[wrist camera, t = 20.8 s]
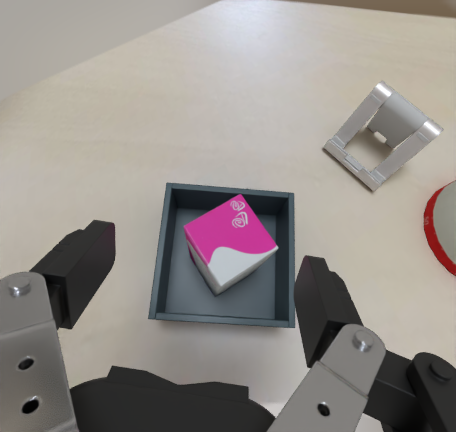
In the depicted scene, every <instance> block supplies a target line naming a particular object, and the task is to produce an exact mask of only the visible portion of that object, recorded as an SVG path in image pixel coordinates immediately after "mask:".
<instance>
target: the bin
mask: <svg viewBox="0 0 456 432" xmlns="http://www.w3.org/2000/svg"><path fill="white" fill-rule="evenodd" d="M239 194H241V195H242V196H243V198H244V199H245V201H246V202H247V203H248V205H249V206H250V208H251V209H252V210H253V212H254V213H255V215H256V216H257V218H258V219H259V220H260V222H261V223H262V225H263V226H264V228H265V229H266V230H267V232H268V233H269V235H270V236H271V238H272V239H273V240H274V242H275V243H276V245H277V246H278V250H277V251H276V252H274V253H273V254H272V255H271V256H270V257H269V258H268V259H267V260H266V261H265V262H264V263H263V264H262V265H261V266H260V267H259V268H258V269H257V270H256V271H254V272H253V273H251V274H250V275H248V276H247V277H245V278H244V279H242V280H241V281H239V282H238V283H236V284H235V285H233V286H232V287H230V288H229V289H227V290H225V291H224V292H222V293H221V294H219V295H218V296H216V297H214V295H213V294H212V292H211V290H210V289H209V287H208V286H207V284H206V283H205V281H204V279H203V278H202V276H201V274H200V273H199V271H198V270H197V268H196V266H195V264H194V263H193V261H192V259H191V257H190V254H189V249H188V245H187V240H186V236H185V232H184V225H186V224H188V223H189V222H191V221H193V220H195V219H197V218H198V217H200V216H202V215H204V214H206V213H207V212H209V211H211V210H213V209H215V208H216V207H218V206H220V205H222V204H224V203H225V202H227V201H229V200H230V199H232V198H234V197H236V196H237V195H239ZM294 285H295V239H294V193H288V192H275V191H263V190H251V189H239V188H227V187H214V186H202V185H190V184H178V183H166V191H165V198H164V206H163V213H162V220H161V228H160V235H159V243H158V250H157V257H156V265H155V272H154V280H153V287H152V294H151V302H150V309H149V317H148V319H156V320H170V321H187V322H203V323H219V324H235V325H251V326H267V327H284V328H295V303H294V297H293V292H294Z"/></svg>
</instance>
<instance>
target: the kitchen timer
mask: <svg viewBox="0 0 456 432" xmlns="http://www.w3.org/2000/svg"><path fill="white" fill-rule="evenodd" d="M424 230H425V233H426V237H427V240H428V243H429V246H430V247H431V249H432V251H433V252H434V254H435V256H436V257H437V259H438V260H439V261H440V262H441V263H442V264H443V265H444V266H445V267H446V268H447V269H448V270H449V272H451V273H452V274H454V275H455V276H456V180H455V181H453V182H451V183H450V184H448V185H446V186H444V187H443V188H441V189H439V190H438V191H436V192H435V193H434V195H433V196H432V197H431V198H430V200H429V201H428V203H427V206H426V209H425V213H424Z"/></svg>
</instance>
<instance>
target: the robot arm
mask: <svg viewBox="0 0 456 432" xmlns="http://www.w3.org/2000/svg"><path fill="white" fill-rule="evenodd" d="M114 261H115V225H114V223H111V222H105V221H99V220H93V221H92V222H91V223H90V224H89V225H88V226H87V227H86V228H85V229H84V230H80V229H79V230H77V231H74V232H72V233H70V234H68V235H66V236H65V237H64V238H63V239H62V240H61V241H60V242H59V244H57V245H56V246H55V247H54V248H53V250H52V251H50V252H49V253H48V254H47V255H46V256H45V257H43V258H42V259H41V260H40V261H39V262H38V263H37V264H36V265H35V266H34V267H33V268H32V269H31V270H30V271H29V272H20V273H15V274H12V275H9V276H7V277H5V278H3V279H1V280H0V432H355V429H356V427H357V425H358V422H359V420H360V418H361V415H362V413H364V414H367V415H369V416H371V417H373V418H375V419H377V420H379V421H380V422H381V425H382V428H383V431H384V432H456V369H455V368H454V367H453V366H452V365H451V364H450V363H448V362H447V361H445V360H444V359H442V358H440V357H438V356H436V355H434V354H431V353H426V352H421V353H418V354H416V355H415V357H414V358H413V360H409V359H407V358H404V357H402V356H400V355H397V354H395V353H392V352H390V351H388V350H386V348H385V345H384V343H383V342H382V340H381V339H380V338H379V337H378V336H377V335H376V334H375V333H374V332H373V331H371V330H370V329H368V328H366V327H364V326H363V323H362V321H361V319H360V317H359V314H358V312H357V310H356V308H355V305H354V303H353V301H352V300H351V297H350V294H349V292H348V290H347V288H346V285H345V283H344V281H343V280H342V279H341V278H340V277H339V276H338V275H337V274H336V273H335V272H331V271H329V269H328V266H327V264H326V261H325V259H324V258H319V257H313V256H307V255H306V256H305V257H304V258H303V261H302V264H301V267H300V270H299V273H298V276H297V279H296V282H295V285H294V292H293V297H294V303H295V308H296V313H297V318H298V323H299V328H300V333H301V338H302V343H303V348H304V353H305V358H306V363H307V367H308V368H311V369H310V370H309V372H308V373H307V375H306V376H305V378H304V379H303V380H302V382H301V383H300V385H299V386H298V388H297V389H296V390H295V392H294V393H293V395H292V396H291V398H290V399H289V400H288V402H287V403H286V405H285V406H284V408H283V409H282V411H281V412H280V413H279V415H278V416H277V418H275V417H274V416H273V415H272V414H271V413H270V412H269V411H268V410H267V409H265V408H264V407H263V406H261V405H260V404H258V403H256V402H255V401H253V400H250V399H249V396H248V387H246V386H240V385H234V384H227V383H221V382H207V383H197V384H187V385H177V384H175V383H172V382H170V381H168V380H165V379H163V378H161V377H159V376H156V375H154V374H152V373H149V372H147V371H143V370H137V369H130V368H124V367H117V366H112V367H111V369H110V372H109V374H108V376H107V377H103V378H98V379H93V380H90V381H87V382H84V383H81V384H79V385H77V386H75V387H73V388H71V389H69V385H68V380H67V375H66V371H65V366H64V361H63V357H62V352H61V347H60V343H59V338H58V333H57V330H58V329H59V327H60V328H66V329H72V328H73V326H74V325H75V323H76V322H77V320H78V319H79V317H80V316H81V314H82V313H83V311H84V310H85V308H86V307H87V305H88V304H89V302H90V300H91V299H92V297H93V296H94V294H95V293H96V291H97V290H98V288H99V287H100V285H101V284H102V282H103V281H104V279H105V278H106V276H107V275H108V273H109V272H110V270H111V269H112V267H113V264H114Z"/></svg>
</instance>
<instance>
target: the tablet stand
mask: <svg viewBox="0 0 456 432" xmlns="http://www.w3.org/2000/svg"><path fill="white" fill-rule="evenodd" d="M379 108H380V109H379ZM378 109H379V110H378ZM377 110H378V111H377ZM376 111H377V113H376V114H375V115H374V117H373V118H372V120H371V121H370V122H369V124H368V125H367V127H368V128H369V129H370V130H371V131H372V132H373V133H374V132H376V131H377V132H379V133H380V134H381V135H383V136H384V137H385V138H386V139H387V140H386V142H385V143H387V144H388V145H389V146H390V147H392V148H395V147H396V146H397V145H399V144H400V143H401V142H402V141H404V140H405V139H406V138H408V137H409V136H410V135H411V134H412V135H411V136H410V137H409V138H408V139H407V140H406V141H405V142H403V143H402V144H401V145H400V146H399V147H398V148H397V149H396V150H395V151H394V152H392V153H391V154H390V155H389V156H388V157H387V158H386V159H385V160H384V161H383V162H382V163H380V164H379V165H378V166H377V167H376V168H375V169H374V170H373V171H372V172H369V171H368V170H367V169H366V168H365V167H364V166H362V165H361V164H360V163H359V162H358V161H357V160H355V159H354V158H353V157H352V156H351V155H350V154H349V153H347V152H346V151H345V150H344V149H343V147H344V146H345V145H346V144H347V143H348V142H349V141H350V140H351V139H352V138H353V136H354V135H355V134H356V133H357V132H358V131H359V130H360V129H361V128H362V126H363V125H364V124H365V123H366V122H367V121H368V120H369V119H370V118H371V116H372V115H373V114H374V113H375V112H376ZM443 130H444V129H443V128H442V127H440V126H439V125H438V124H437V123H435V122H434V121H433V120H432V119H430V118H429V117H428V116H427V115H425V114H424V113H423V112H422V111H420V110H419V109H418V108H416V107H415V106H414V105H413V104H411V103H410V102H409V101H408V100H406V99H405V98H404V97H403V96H401V95H400V94H399V93H397V92H396V91H395V90H394V89H392V88H391V87H390V86H389V85H387V84H386V83H385V82H384V81H381V82H379V83H378V84H377V85H376V87H375V88H374V89H373V90H372V91H371V92H370V93H369V95H368V96H367V97H366V98H365V99H364V101H363V102H362V103H361V104H360V105H359V107H358V108H357V109H356V110H355V111H354V113H353V114H352V115H351V116H350V117H349V119H348V120H347V121H346V122H345V123H344V125H343V126H342V127H341V128H340V129H339V131H338V132H337V133H336V134H335V135H334V136H333V138H332V139H329V140H328V141H327V142H326V144H325V145H324V148H325V149H326V150H327V151H328V152H329V153H331V154H332V155H333V156H334V157H335V158H336V159H337V160H339V161H340V162H341V163H342V164H343V165H344V166H345V167H346V168H348V169H349V170H350V171H351V172H352V173H353V174H354V175H356V176H357V177H358V178H359V179H360V180H361V181H362V182H364V183H365V184H366V185H367V186H368V187H369V188H370V189H371V190H373V191H375V190H376V189H378V188H379V187H380V186H381V185H382V184H381V183H383V182H384V181H385V180H386V179H387V178H388V177H390V176H391V175H392V174H393V173H394V172H395V171H397V170H398V169H399V168H400V167H401V166H403V165H404V164H405V163H406V162H407V161H409V160H410V159H411V158H412V157H413V156H415V155H416V154H417V153H418V152H419V151H421V150H422V149H423V148H424V147H425V146H426V145H428V144H429V143H430V142H431V141H432V140H434V139H435V138H436V137H437V136H438V135H439V134H440V133H441V132H442V131H443Z"/></svg>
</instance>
